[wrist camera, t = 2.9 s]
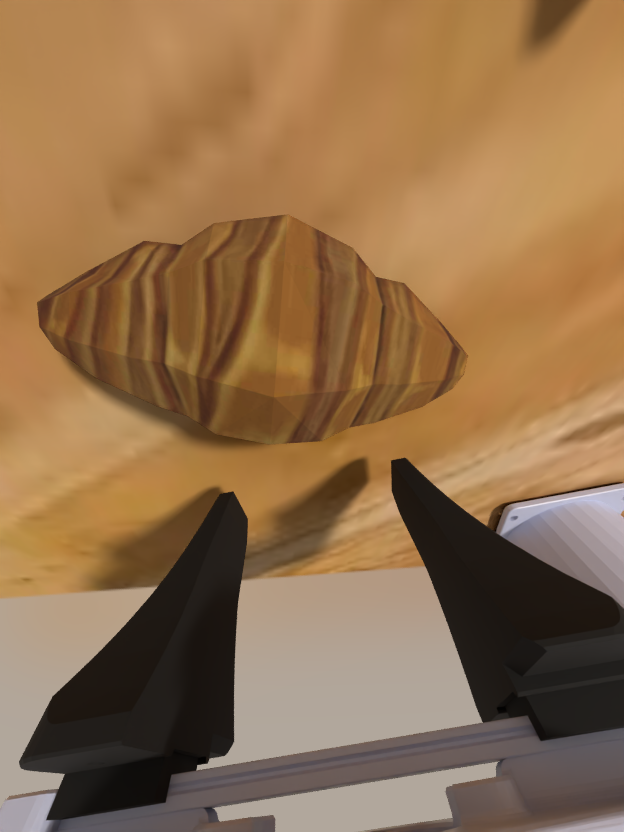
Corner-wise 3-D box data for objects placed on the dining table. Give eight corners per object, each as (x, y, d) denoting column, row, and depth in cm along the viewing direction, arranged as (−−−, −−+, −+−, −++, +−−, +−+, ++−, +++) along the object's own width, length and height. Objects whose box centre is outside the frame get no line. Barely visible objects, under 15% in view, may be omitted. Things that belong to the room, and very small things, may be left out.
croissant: (482, 257, 9) (649, 268, 5) (413, 419, 13) (476, 505, 9) (36, 173, 7) (-324, 72, 3) (104, 395, 11) (-11, 492, 6)
